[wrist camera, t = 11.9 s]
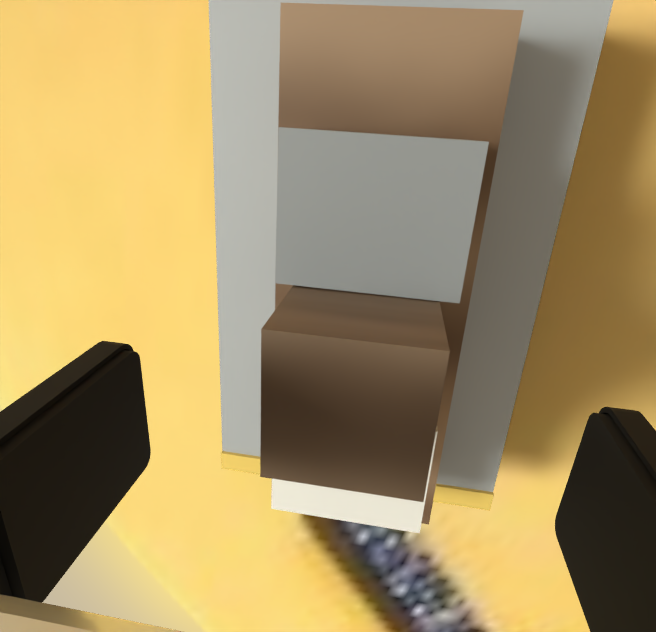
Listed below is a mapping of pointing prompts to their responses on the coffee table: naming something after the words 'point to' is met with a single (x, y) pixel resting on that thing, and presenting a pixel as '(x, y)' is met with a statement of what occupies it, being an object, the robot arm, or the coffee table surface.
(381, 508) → the block
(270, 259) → the dock
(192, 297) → the coffee table surface
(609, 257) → the coffee table surface
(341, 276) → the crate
